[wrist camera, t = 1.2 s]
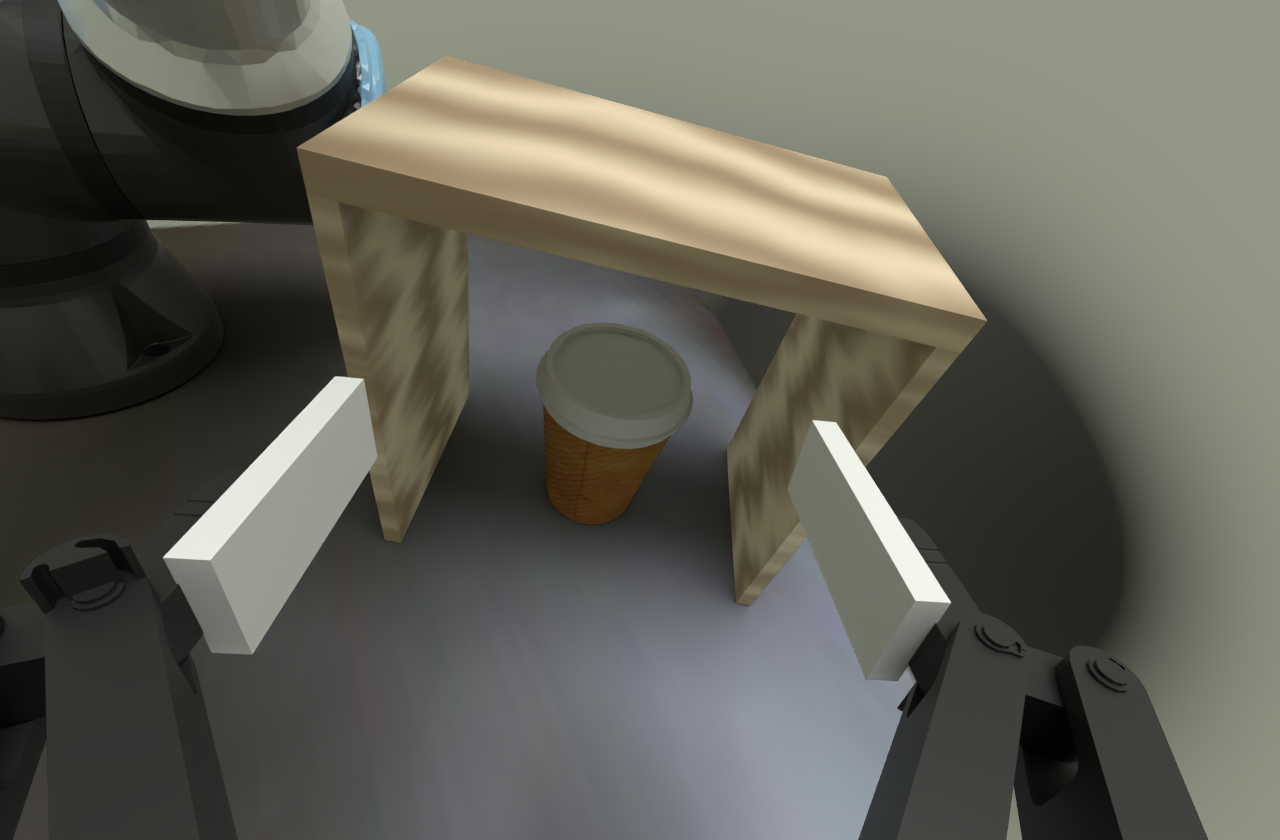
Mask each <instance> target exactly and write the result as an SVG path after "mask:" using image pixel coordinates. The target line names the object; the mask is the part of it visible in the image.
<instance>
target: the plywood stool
mask: <svg viewBox="0 0 1280 840" xmlns="http://www.w3.org/2000/svg"><path fill="white" fill-rule="evenodd" d="M297 153H298V157H299V161H300V166H301V170H302V175H303V179H304V184H305V188H306V193H307V197H308V201H309V206H310V210H311V215H312V219H313V224H314V228H315V232H316V237H317V241H318V246H319V250H320V255H321V259H322V264H323V268H324V272H325V277H326V281H327V286H328V290H329V295H330V299H331V304H332V308H333V312H334V317H335V321H336V326H337V330H338V335H339V339H340V343H341V348H342V352H343V357H344V361H345V366H346V370H347V375H348V377H349V378H360V379H364V382H365V388H366V394H367V399H368V405H369V411H370V417H371V422H372V428H373V434H374V440H375V445H376V451H377V459H376V460H375V462H374V464H373V465H372V467H371V468H370V470H369V472H370V477H371V481H372V486H373V490H374V494H375V499H376V503H377V508H378V512H379V517H380V521H381V526H382V530H383V534H384V539H385V540H387V541H392V542H398V543H401V542H402V540H403V538H404V536H405V533H406V531H407V529H408V527H409V525H410V523H411V520H412V518H413V516H414V514H415V512H416V509H417V507H418V505H419V503H420V501H421V499H422V496H423V494H424V492H425V490H426V488H427V486H428V483H429V481H430V479H431V477H432V475H433V472H434V470H435V468H436V466H437V464H438V462H439V459H440V457H441V455H442V453H443V451H444V448H445V446H446V444H447V442H448V440H449V438H450V435H451V433H452V431H453V429H454V427H455V424H456V422H457V420H458V418H459V416H460V414H461V411H462V409H463V407H464V405H465V403H466V400H467V398H468V396H469V323H468V234H472V235H476V236H480V237H484V238H488V239H493V240H497V241H501V242H505V243H509V244H513V245H517V246H521V247H526V248H530V249H534V250H538V251H542V252H546V253H550V254H554V255H559V256H563V257H567V258H571V259H575V260H579V261H583V262H587V263H592V264H596V265H600V266H604V267H608V268H612V269H616V270H620V271H625V272H629V273H633V274H637V275H641V276H645V277H649V278H653V279H658V280H662V281H666V282H670V283H674V284H678V285H682V286H686V287H691V288H695V289H699V290H703V291H707V292H711V293H715V294H720V295H724V296H728V297H732V298H736V299H740V300H744V301H749V302H752V303H757V304H761V305H765V306H769V307H773V308H777V309H781V310H786V311H790V312H794V313H797V314H796V316H795V318H794V320H793V322H792V324H791V326H790V328H789V330H788V332H787V333H786V335H785V337H784V339H783V341H782V343H781V345H780V347H779V349H778V351H777V353H776V355H775V357H774V359H773V360H772V363H771V365H770V366H769V368H768V370H767V372H766V374H765V376H764V378H763V380H762V382H761V384H760V386H759V388H758V389H757V391H756V393H755V395H754V397H753V399H752V401H751V403H750V405H749V407H748V409H747V411H746V413H745V415H744V417H743V418H742V420H741V422H740V424H739V426H738V428H737V430H736V432H735V434H734V436H733V438H732V440H731V442H730V444H729V445H728V447H727V463H728V480H729V497H730V514H731V531H732V548H733V565H734V582H735V600H736V603H737V604H743V605H748V606H750V605H751V604H752V603H753V602H754V600H755V599H756V598H757V597H758V596H759V594H760V593H761V592H762V591H763V590H764V588H765V587H766V586H767V585H768V584H769V582H770V581H771V580H772V579H773V578H774V576H775V575H776V574H777V573H778V572H779V570H780V569H781V568H782V567H783V566H784V564H785V563H786V562H787V561H788V560H789V558H790V557H791V556H792V555H793V553H794V552H795V551H796V550H797V549H798V547H799V546H800V545H801V544H802V543H803V541H804V540H805V539H806V538H807V536H806V534H805V531H804V529H803V526H802V524H801V521H800V519H799V517H798V514H797V512H796V509H795V507H794V505H793V502H792V500H791V497H790V495H789V493H788V490H787V488H788V485H789V482H790V480H791V477H792V474H793V471H794V469H795V466H796V463H797V460H798V458H799V455H800V452H801V449H802V447H803V444H804V441H805V438H806V436H807V433H808V430H809V427H810V425H811V422H812V420H816V421H827V422H836V423H837V425H838V426H839V428H840V429H841V431H842V432H843V434H844V436H845V437H846V439H847V440H848V442H849V443H850V445H851V446H852V448H853V450H854V451H855V453H856V454H857V456H858V457H859V459H860V461H861V462H862V464H863V465H864V467H866V466H867V464H868V463H869V462H870V461H871V460H872V458H873V457H874V456H875V455H876V454H877V453H878V451H879V450H880V449H881V448H882V447H883V445H884V444H885V443H886V442H887V441H888V439H889V438H890V437H891V436H892V435H893V433H894V432H895V431H896V430H897V429H898V427H899V426H900V425H901V424H902V423H903V421H904V420H905V419H906V418H907V417H908V415H909V414H910V413H911V412H912V411H913V409H914V408H915V407H916V406H917V404H918V403H919V402H920V401H921V400H922V399H923V397H924V396H925V395H926V394H927V393H928V391H929V390H930V389H931V388H932V387H933V385H934V384H935V383H936V382H937V381H938V379H939V378H940V377H941V376H942V374H943V373H944V372H945V371H946V370H947V369H948V367H949V366H950V365H951V364H952V363H953V361H954V360H955V359H956V358H957V356H958V355H959V354H960V353H961V352H962V351H963V349H964V348H965V347H966V346H967V345H968V343H969V342H970V341H971V340H972V338H973V337H974V336H975V335H976V334H977V333H978V331H979V330H980V329H981V328H982V327H983V325H984V324H985V323H986V322H987V320H986V319H985V317H984V316H983V314H982V313H981V311H980V310H979V308H978V307H977V305H976V304H975V303H974V301H973V300H972V298H971V297H970V296H969V294H968V293H967V291H966V290H965V289H964V287H963V285H962V284H961V283H960V281H959V280H958V278H957V277H956V276H955V274H954V273H953V271H952V270H951V269H950V267H949V266H948V264H947V263H946V261H945V260H944V258H943V257H942V256H941V254H940V253H939V251H938V250H937V248H936V247H935V246H934V244H933V243H932V241H931V240H930V238H929V237H928V236H927V234H926V233H925V231H924V230H923V228H922V227H921V226H920V224H919V223H918V221H917V220H916V218H915V217H914V216H913V214H912V213H911V212H910V210H909V209H908V207H907V206H906V204H905V203H904V201H903V200H902V198H901V197H900V196H899V194H898V193H897V191H896V190H895V188H894V187H893V186H892V184H891V183H890V182H889V180H888V178H887V177H884V176H881V175H877V174H873V173H869V172H866V171H862V170H859V169H855V168H851V167H848V166H844V165H840V164H837V163H833V162H830V161H826V160H822V159H819V158H815V157H812V156H808V155H805V154H801V153H797V152H793V151H790V150H786V149H783V148H779V147H776V146H772V145H768V144H765V143H761V142H757V141H753V140H750V139H746V138H743V137H739V136H735V135H732V134H728V133H725V132H721V131H718V130H714V129H710V128H707V127H703V126H699V125H695V124H692V123H688V122H685V121H681V120H677V119H674V118H670V117H667V116H663V115H659V114H656V113H652V112H648V111H645V110H641V109H638V108H634V107H630V106H627V105H623V104H620V103H616V102H612V101H609V100H605V99H601V98H598V97H594V96H591V95H587V94H583V93H580V92H576V91H572V90H569V89H565V88H562V87H558V86H554V85H550V84H547V83H543V82H540V81H536V80H533V79H529V78H525V77H522V76H518V75H514V74H511V73H507V72H503V71H500V70H496V69H492V68H489V67H485V66H482V65H478V64H475V63H471V62H467V61H464V60H460V59H456V58H453V57H449V56H445V57H443V58H442V59H440V60H438V61H437V62H435V63H433V64H432V65H430V66H428V67H427V68H425V69H424V70H422V71H420V72H419V73H417V74H415V75H414V76H413V77H411V78H409V79H407V80H406V81H404V82H402V83H401V84H399V85H398V86H396V87H394V88H393V89H391V90H389V91H388V92H386V93H384V94H383V95H381V96H380V97H378V98H376V99H375V100H373V101H371V102H370V103H368V104H367V105H365V106H363V107H362V108H360V109H358V110H357V111H355V112H354V113H352V114H350V115H349V116H347V117H345V118H344V119H342V120H341V121H339V122H337V123H336V124H334V125H332V126H331V127H329V128H328V129H326V130H324V131H323V132H321V133H319V134H318V135H316V136H315V137H313V138H311V139H310V140H308V141H306V142H305V143H303V144H302V145H300V146H298V147H297Z"/></svg>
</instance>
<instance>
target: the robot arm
mask: <svg viewBox="0 0 1280 840" xmlns="http://www.w3.org/2000/svg"><path fill="white" fill-rule="evenodd" d="M384 93H386V85H385V76H384V68H383V63H382V57H381V52H380V48H379V44H378V41H377V39H376V37H375V36H374V34H373V33H372V32H371V31H370V30H369V29H367V28H366V27H363V26H360V25H357V24H356V23H355V22H354V21H352V20H349V17H348V15H347V12H346V10H345V7H344V4H343V2H342V0H0V417H7V418H16V419H37V420H43V419H64V418H73V417H81V416H88V415H94V414H99V413H104V412H109V411H113V410H117V409H121V408H124V407H128V406H131V405H134V404H137V403H140V402H143V401H146V400H148V399H151V398H154V397H156V396H158V395H161V394H163V393H165V392H167V391H169V390H171V389H173V388H175V387H177V386H179V385H180V384H182V383H184V382H185V381H187V380H189V379H190V378H192V377H193V376H194V375H196V374H197V373H198V372H200V371H201V370H202V369H203V368H204V367H205V366H206V365H207V364H208V363H209V362H210V361H211V360H212V359H213V358H214V356H215V355H216V353H217V352H218V350H219V348H220V346H221V344H222V341H223V336H224V328H223V324H222V321H221V319H220V316H219V314H218V311H217V309H216V306H215V304H214V302H213V300H212V298H211V296H210V295H209V293H208V292H207V291H206V289H205V288H204V287H203V286H202V285H201V284H200V283H199V282H198V281H197V280H196V279H195V278H194V277H193V276H192V275H191V273H190V272H189V271H188V270H187V269H186V268H185V267H184V266H183V265H182V264H181V263H180V262H179V261H178V260H177V259H176V258H175V256H174V255H173V254H172V253H171V252H170V251H169V250H168V249H167V248H166V247H165V246H164V245H163V244H162V243H161V242H160V241H159V239H158V238H157V237H156V236H155V235H154V234H153V233H152V231H151V229H150V227H149V225H148V223H147V221H146V220H179V221H214V222H244V223H269V224H293V225H313V226H314V224H313V219H312V215H311V210H310V206H309V201H308V197H307V193H306V188H305V184H304V179H303V175H302V170H301V166H300V161H299V157H298V153H297V147H298V146H300V145H302V144H303V143H305V142H306V141H308V140H310V139H311V138H313V137H315V136H316V135H318V134H319V133H321V132H323V131H324V130H326V129H328V128H329V127H331V126H332V125H334V124H336V123H337V122H339V121H341V120H342V119H344V118H345V117H347V116H349V115H350V114H352V113H354V112H355V111H357V110H358V109H360V108H362V107H363V106H365V105H367V104H368V103H370V102H371V101H373V100H375V99H376V98H378V97H380V96H381V95H383V94H384ZM376 459H377V451H376V445H375V440H374V434H373V428H372V422H371V417H370V411H369V405H368V399H367V394H366V388H365V382H364V379H360V378H349V377H338V376H335V377H334V378H333V379H332V380H331V381H330V382H329V383H328V384H327V385H326V387H325V388H324V389H323V390H322V391H321V392H320V393H319V394H318V395H317V396H316V397H315V398H314V399H313V400H312V401H311V402H310V403H309V404H308V405H307V407H306V408H305V409H304V410H303V411H302V412H301V413H300V414H299V415H298V416H297V417H296V418H295V419H294V420H293V421H292V422H291V423H290V424H289V425H288V426H287V428H286V429H285V430H284V431H283V432H282V433H281V434H280V435H279V436H278V437H277V438H276V439H275V440H274V441H273V442H272V443H271V444H270V445H269V446H268V448H267V449H266V450H265V451H264V452H263V453H262V454H261V455H260V456H259V457H258V458H257V459H256V460H255V461H254V462H253V463H252V464H251V465H250V466H249V468H248V469H247V470H246V471H242V470H227V471H225V472H223V473H221V474H220V475H218V476H216V477H214V478H212V479H211V480H209V481H207V482H205V483H204V484H203V485H202V486H201V487H200V488H199V489H198V490H197V491H196V492H195V493H194V494H193V495H192V496H190V497H189V498H188V499H187V503H183V504H182V505H181V506H180V507H179V508H178V509H177V510H176V511H175V512H174V513H173V514H174V515H173V517H169V518H168V519H167V520H166V521H165V522H164V523H163V524H162V525H161V526H160V527H159V528H158V529H157V530H156V531H155V532H154V533H153V534H152V535H151V536H150V537H149V538H147V539H146V540H145V541H144V542H143V543H142V544H141V545H140V546H139V547H138V548H137V549H136V550H135V551H134V552H133V550H132V548H131V546H130V545H129V543H128V542H127V541H126V539H125V538H124V537H121V536H118V535H115V534H92V535H87V536H83V537H78V538H74V539H72V540H69V541H67V542H64V543H61V544H59V545H56V546H54V547H52V548H51V549H49V550H47V551H46V552H44V553H42V554H41V555H39V556H37V557H36V558H35V559H34V560H33V561H32V562H31V563H30V564H29V565H28V566H27V567H26V568H24V570H23V572H22V575H21V577H20V580H19V581H20V582H21V584H22V585H23V586H24V588H25V589H26V590H27V592H28V593H29V594H30V596H31V597H32V598H33V600H34V601H35V602H32V603H27V604H21V605H15V606H9V607H4V608H0V840H12V839H13V836H14V833H15V830H16V827H17V825H18V822H19V819H20V816H21V813H22V810H23V807H24V804H25V801H26V798H27V795H28V792H29V789H30V786H31V783H32V780H33V777H34V774H35V771H36V768H37V765H38V762H39V759H40V756H41V753H42V751H43V748H44V745H45V742H46V739H47V770H48V814H49V840H238V839H237V834H236V830H235V826H234V822H233V818H232V814H231V810H230V806H229V802H228V798H227V794H226V790H225V785H224V781H223V777H222V773H221V769H220V765H219V761H218V757H217V753H216V749H215V745H214V740H213V736H212V732H211V728H210V724H209V720H208V716H207V712H206V708H205V704H204V700H203V696H202V691H201V687H200V683H199V679H198V675H197V671H196V667H195V663H194V660H193V659H192V657H191V655H190V651H191V650H192V649H193V647H194V646H195V645H196V643H197V642H198V641H199V639H200V638H201V637H202V635H203V637H204V639H205V640H206V642H207V644H208V646H209V648H210V650H211V652H212V653H230V654H253V653H254V651H255V649H256V648H257V646H258V645H259V643H260V642H261V640H262V638H263V637H264V635H265V634H266V632H267V631H268V629H269V627H270V626H271V624H272V623H273V621H274V620H275V618H276V616H277V615H278V613H279V612H280V610H281V608H282V607H283V605H284V604H285V602H286V601H287V599H288V597H289V596H290V594H291V593H292V591H293V590H294V588H295V586H296V585H297V583H298V582H299V580H300V579H301V577H302V575H303V574H304V572H305V571H306V569H307V568H308V566H309V564H310V563H311V561H312V560H313V558H314V557H315V555H316V553H317V552H318V550H319V549H320V547H321V545H322V544H323V542H324V541H325V539H326V538H327V536H328V534H329V533H330V531H331V530H332V528H333V527H334V525H335V523H336V522H337V520H338V519H339V517H340V516H341V514H342V512H343V511H344V509H345V508H346V506H347V505H348V503H349V501H350V500H351V498H352V497H353V495H354V494H355V492H356V490H357V489H358V487H359V486H360V484H361V482H362V481H363V479H364V478H365V476H366V475H367V473H368V471H369V470H370V468H371V467H372V465H373V464H374V462H375V460H376ZM787 490H788V493H789V495H790V497H791V500H792V502H793V505H794V507H795V509H796V512H797V514H798V517H799V519H800V521H801V524H802V526H803V529H804V531H805V534H806V536H807V538H808V541H809V543H810V546H811V548H812V550H813V553H814V555H815V558H816V560H817V563H818V565H819V567H820V570H821V572H822V575H823V577H824V579H825V582H826V584H827V587H828V589H829V591H830V594H831V596H832V599H833V601H834V604H835V606H836V608H837V611H838V613H839V616H840V618H841V620H842V623H843V625H844V628H845V630H846V632H847V635H848V637H849V640H850V642H851V645H852V647H853V649H854V652H855V654H856V657H857V659H858V661H859V664H860V666H861V669H862V671H863V673H864V676H865V678H866V680H888V681H898V680H899V678H900V677H901V675H902V674H903V672H904V671H905V670H906V668H907V667H908V665H909V667H910V669H911V671H912V673H913V675H914V676H915V679H916V683H915V684H914V686H913V687H912V688H911V690H910V691H909V693H908V694H907V695H906V697H905V698H904V699H903V701H902V702H901V704H900V705H899V706H898V709H899V710H901V711H903V713H902V716H901V719H900V722H899V724H898V727H897V730H896V733H895V736H894V739H893V742H892V745H891V747H890V750H889V753H888V756H887V759H886V762H885V765H884V768H883V770H882V773H881V776H880V779H879V782H878V785H877V788H876V791H875V793H874V796H873V799H872V802H871V805H870V808H869V811H868V814H867V816H866V819H865V822H864V825H863V828H862V831H861V834H860V836H859V839H858V840H1006V837H1007V830H1008V822H1009V815H1010V808H1011V800H1012V792H1013V785H1014V789H1015V795H1016V801H1017V808H1018V814H1019V821H1020V828H1021V834H1022V840H1208V838H1207V836H1206V833H1205V831H1204V829H1203V826H1202V823H1201V821H1200V819H1199V816H1198V814H1197V812H1196V809H1195V807H1194V804H1193V802H1192V800H1191V797H1190V795H1189V792H1188V790H1187V787H1186V785H1185V783H1184V780H1183V778H1182V775H1181V773H1180V770H1179V768H1178V766H1177V763H1176V761H1175V759H1174V756H1173V754H1172V752H1171V749H1170V746H1169V744H1168V742H1167V739H1166V737H1165V734H1164V732H1163V730H1162V727H1161V725H1160V722H1159V720H1158V718H1157V715H1156V713H1155V710H1154V708H1153V706H1152V703H1151V701H1150V698H1149V696H1148V693H1147V691H1146V689H1145V688H1144V686H1143V685H1142V683H1141V682H1140V680H1139V678H1138V677H1137V676H1136V675H1135V674H1134V673H1133V672H1132V671H1131V670H1130V669H1129V668H1128V667H1127V666H1125V665H1124V664H1123V663H1121V662H1120V661H1118V660H1117V659H1116V658H1114V657H1113V656H1111V655H1109V654H1107V653H1105V652H1103V651H1101V650H1099V649H1096V648H1092V647H1088V646H1075V647H1074V648H1073V649H1072V650H1071V651H1070V652H1069V653H1068V654H1067V655H1066V656H1065V657H1064V658H1061V657H1059V656H1055V655H1053V654H1049V653H1046V652H1043V651H1040V650H1036V649H1034V648H1031V647H1028V646H1026V645H1025V643H1024V641H1023V639H1022V638H1021V637H1020V636H1019V635H1018V634H1017V633H1016V632H1015V631H1014V630H1013V629H1012V628H1011V627H1009V626H1008V625H1006V624H1005V623H1003V622H1002V621H1000V620H999V619H997V618H994V617H992V616H989V615H987V614H983V613H981V612H980V610H979V609H978V607H977V606H976V605H975V603H974V601H973V600H972V599H971V597H970V596H969V594H968V593H967V591H966V590H965V588H964V587H963V585H962V584H961V582H960V581H959V580H958V578H957V577H956V575H955V574H954V572H953V571H952V569H951V568H950V566H947V562H946V561H945V559H944V558H943V556H942V555H941V553H939V552H938V549H937V547H936V546H935V544H934V543H933V541H932V540H931V539H930V537H929V535H928V534H927V533H926V532H925V531H924V530H922V529H921V528H920V527H919V526H918V525H917V524H916V523H915V522H913V521H912V520H911V519H910V518H897V517H896V515H895V514H894V512H893V511H892V509H891V508H890V506H889V504H888V503H887V502H886V500H885V498H884V497H883V495H882V493H881V492H880V490H879V489H878V487H877V486H876V484H875V483H874V481H873V479H872V478H871V476H870V475H869V473H868V472H867V470H866V468H865V467H864V465H863V464H862V462H861V461H860V459H859V457H858V456H857V454H856V453H855V451H854V450H853V448H852V446H851V445H850V443H849V442H848V440H847V439H846V437H845V436H844V434H843V432H842V431H841V429H840V428H839V426H838V425H837V423H836V422H827V421H816V420H812V422H811V425H810V427H809V430H808V433H807V436H806V438H805V441H804V444H803V447H802V449H801V452H800V455H799V458H798V460H797V463H796V466H795V469H794V471H793V474H792V477H791V480H790V482H789V485H788V488H787Z"/></svg>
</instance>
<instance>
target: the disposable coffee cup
mask: <svg viewBox="0 0 1280 840" xmlns="http://www.w3.org/2000/svg"><path fill="white" fill-rule="evenodd" d="M536 384H537V387H538V391H539V394H540V398H541V399H542V401H543V404H544V428H545V448H546V449H545V452H546V471H547V472H546V475H547V493H548V497H549V499H550V501H551V503H552V504H553V506H554V507H555V508H556V509H557V510H558V511H559V512H560V513H561V514H562V515H564V516H565V517H567V518H569V519H570V520H573V521H576V522H579V523H583V524H593V525H596V524H603V523H607V522H610V521H612V520H614V519H615V518H617V517H619V516H620V515H621V514H622V513H623V512H624V511H625V510H626V508H627V507H628V505H629V503H630V501H631V500H632V498H633V496H634V495H635V493H636V491H637V490H638V488H639V486H640V485H641V483H642V481H643V480H644V478H645V477H646V475H647V473H648V472H649V470H650V468H651V467H652V465H653V463H654V461H655V460H656V458H657V456H658V455H659V453H660V452H661V450H662V448H663V446H664V445H665V443H666V441H667V440H668V438H669V437H670V435H672V434H673V433H674V432H676V431H677V430H678V429H679V428H681V426H682V425H683V424H684V422H685V421H686V420H687V418H688V416H689V414H690V412H691V408H692V403H693V395H692V391H691V378H690V374H689V371H688V368H687V366H686V364H685V363H684V361H683V359H682V358H681V357H680V355H679V354H678V353H677V352H676V351H675V350H674V349H673V348H671V347H670V346H669V345H668V344H667V343H665V342H664V341H662V340H661V339H659V338H657V337H656V336H654V335H652V334H650V333H647V332H645V331H643V330H640V329H638V328H634V327H630V326H625V325H621V324H613V323H592V324H584V325H581V326H577V327H574V328H572V329H570V330H568V331H566V332H565V333H563V334H561V335H560V336H558V338H557V339H556V340H555V341H554V342H553V343H552V345H551V347H550V349H549V350H548V351H547V352H546V353H545V355H544V356H543V357H542V359H541V360H540V363H539V365H538V368H537V373H536Z"/></svg>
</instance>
